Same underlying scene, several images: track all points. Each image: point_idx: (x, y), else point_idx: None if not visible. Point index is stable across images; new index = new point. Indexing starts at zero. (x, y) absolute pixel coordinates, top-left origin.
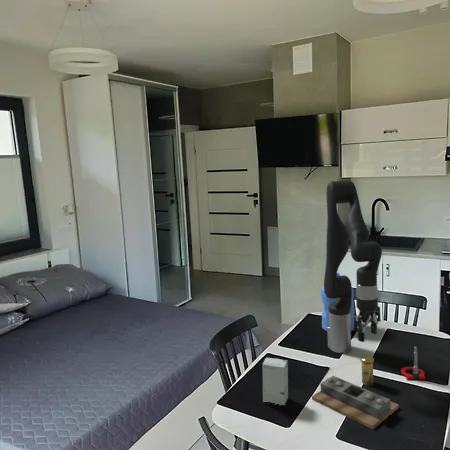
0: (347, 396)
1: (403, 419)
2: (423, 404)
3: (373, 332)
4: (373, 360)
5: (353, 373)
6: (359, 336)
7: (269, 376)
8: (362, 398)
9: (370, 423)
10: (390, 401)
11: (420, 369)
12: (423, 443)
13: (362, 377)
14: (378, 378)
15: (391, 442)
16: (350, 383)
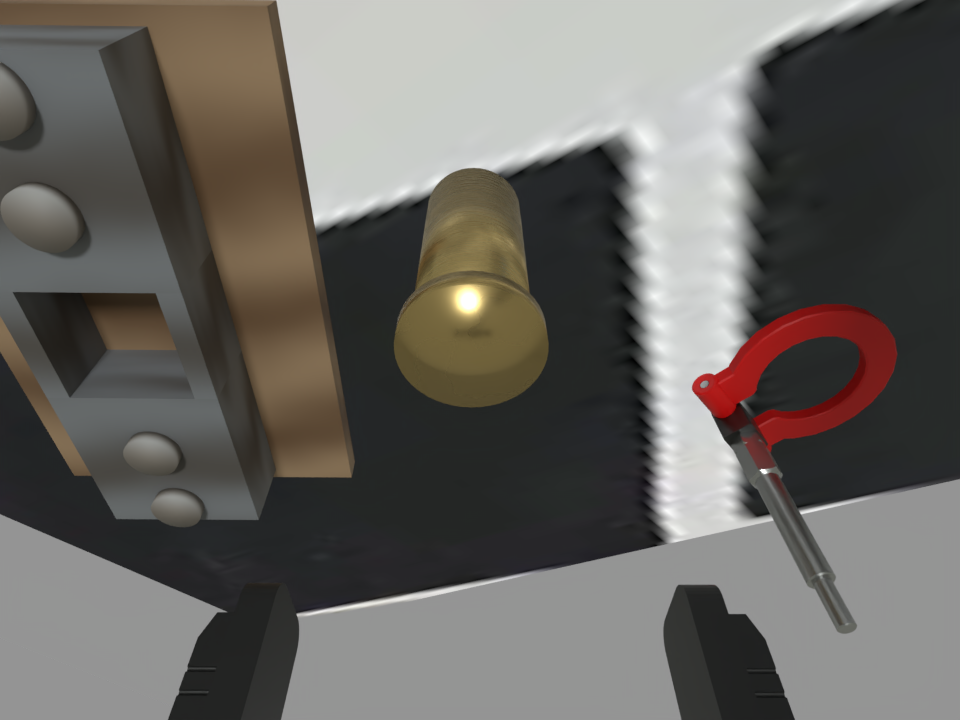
0: (22, 343)
1: (288, 504)
2: (480, 513)
3: (676, 635)
4: (480, 405)
5: (540, 12)
6: (189, 711)
7: None
8: (105, 426)
9: (77, 461)
10: (343, 442)
11: (871, 398)
12: (220, 587)
13: (431, 212)
14: (596, 238)
15: (103, 531)
16: (165, 273)
